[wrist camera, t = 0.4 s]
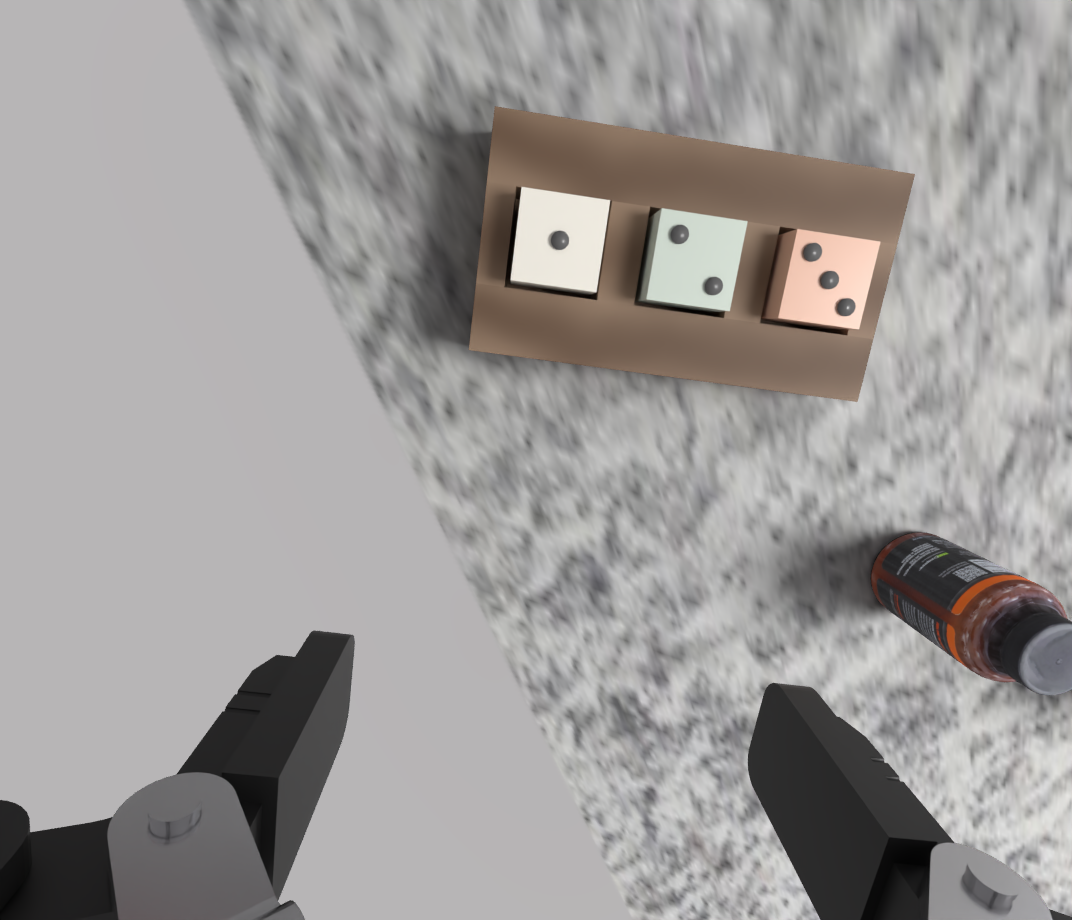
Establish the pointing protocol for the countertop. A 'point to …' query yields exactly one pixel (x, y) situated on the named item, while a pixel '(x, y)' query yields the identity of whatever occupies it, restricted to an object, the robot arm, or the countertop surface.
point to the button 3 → (819, 279)
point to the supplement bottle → (977, 612)
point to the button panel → (635, 195)
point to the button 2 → (690, 260)
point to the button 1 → (559, 241)
